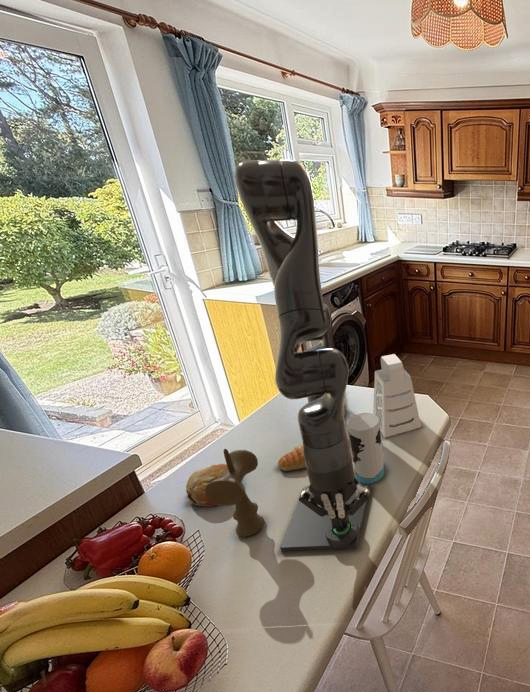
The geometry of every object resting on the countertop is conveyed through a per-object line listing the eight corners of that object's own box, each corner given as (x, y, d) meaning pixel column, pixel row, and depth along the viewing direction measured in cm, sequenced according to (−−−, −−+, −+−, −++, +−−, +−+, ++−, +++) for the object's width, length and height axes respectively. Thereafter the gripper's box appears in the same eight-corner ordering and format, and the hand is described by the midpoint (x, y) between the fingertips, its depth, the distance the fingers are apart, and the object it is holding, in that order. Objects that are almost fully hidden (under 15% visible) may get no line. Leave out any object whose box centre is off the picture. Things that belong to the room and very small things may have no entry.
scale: (307, 490, 91) (304, 480, 89) (370, 488, 92) (369, 478, 90) (280, 554, 76) (277, 543, 75) (356, 550, 77) (354, 540, 76)
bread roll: (191, 506, 90) (165, 492, 84) (222, 465, 96) (200, 449, 90) (224, 519, 88) (199, 505, 81) (254, 475, 93) (233, 460, 87)
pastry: (283, 478, 94) (280, 465, 92) (275, 462, 99) (272, 450, 97) (323, 461, 99) (321, 449, 98) (314, 448, 104) (311, 436, 102)
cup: (383, 462, 100) (378, 411, 93) (385, 481, 94) (379, 428, 87) (355, 466, 98) (347, 414, 91) (355, 485, 93) (347, 432, 86)
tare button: (336, 527, 80) (335, 521, 79) (352, 527, 80) (351, 520, 80) (332, 540, 78) (331, 534, 77) (348, 539, 78) (347, 533, 77)
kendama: (225, 550, 77) (193, 468, 68) (244, 511, 85) (218, 433, 76) (258, 546, 77) (231, 465, 68) (274, 508, 86) (252, 431, 77)
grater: (384, 437, 109) (377, 371, 100) (373, 418, 117) (365, 355, 108) (421, 426, 113) (417, 363, 104) (407, 408, 122) (403, 348, 112)
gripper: (370, 442, 74) (379, 511, 82) (296, 444, 73) (312, 514, 81) (363, 470, 67) (373, 542, 75) (281, 472, 66) (300, 545, 74)
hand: (341, 527), depth 78 cm, fingers closed
